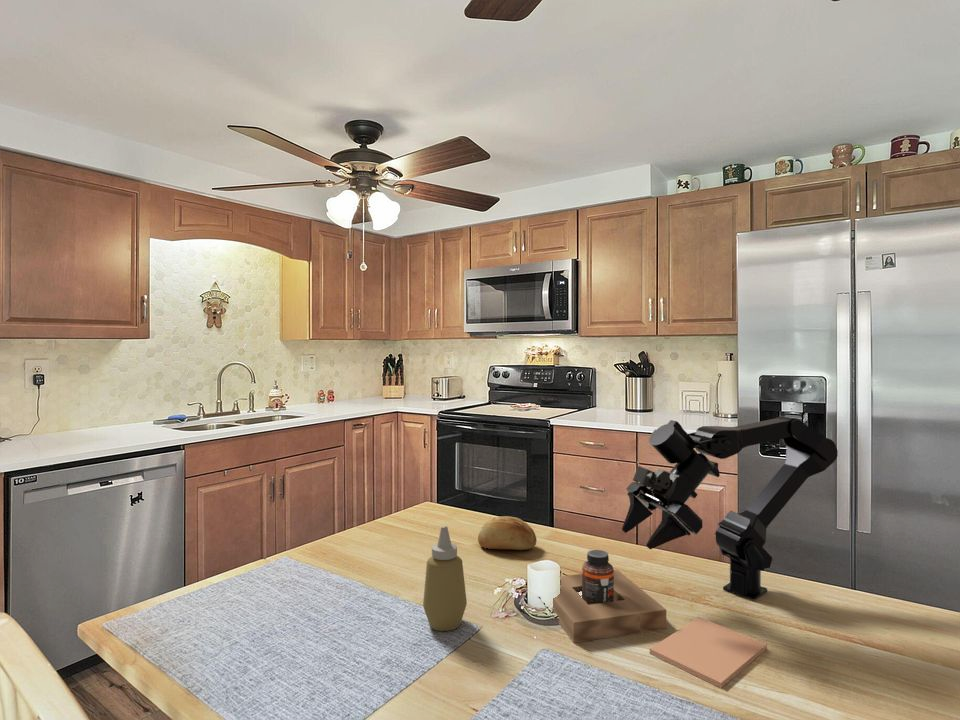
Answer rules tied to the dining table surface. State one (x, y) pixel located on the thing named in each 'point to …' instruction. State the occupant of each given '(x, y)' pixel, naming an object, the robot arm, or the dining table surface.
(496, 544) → the bread roll
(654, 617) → the walnut holder
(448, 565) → the squeeze bottle
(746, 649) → the terracotta tile
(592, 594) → the supplement bottle
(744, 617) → the dining table surface
